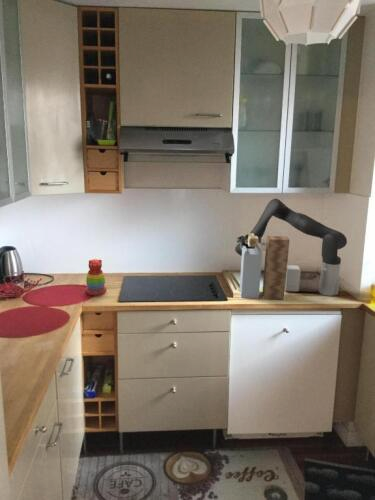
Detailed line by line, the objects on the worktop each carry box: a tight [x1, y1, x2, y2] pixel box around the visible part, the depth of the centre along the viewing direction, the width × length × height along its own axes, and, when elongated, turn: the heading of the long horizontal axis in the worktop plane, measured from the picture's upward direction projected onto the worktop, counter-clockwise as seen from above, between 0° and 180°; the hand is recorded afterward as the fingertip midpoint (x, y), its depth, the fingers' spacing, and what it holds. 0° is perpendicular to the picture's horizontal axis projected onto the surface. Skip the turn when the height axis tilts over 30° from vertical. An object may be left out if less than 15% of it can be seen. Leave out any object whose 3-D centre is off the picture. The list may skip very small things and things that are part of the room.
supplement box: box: [285, 264, 302, 292], centre depth 236 cm, size 7×7×13 cm
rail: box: [246, 232, 259, 248], centre depth 223 cm, size 4×15×4 cm, turn 179°
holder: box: [239, 245, 263, 299], centre depth 225 cm, size 9×10×25 cm
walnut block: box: [261, 235, 290, 301], centre depth 220 cm, size 10×7×32 cm
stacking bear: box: [84, 258, 107, 296], centre depth 223 cm, size 11×10×18 cm
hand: (251, 236), depth 225 cm, fingers closed on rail, 3 cm apart
